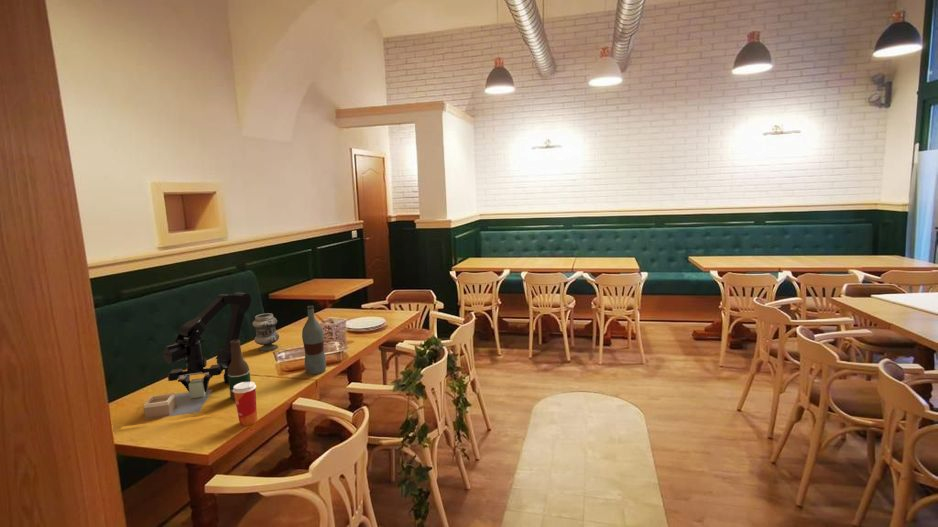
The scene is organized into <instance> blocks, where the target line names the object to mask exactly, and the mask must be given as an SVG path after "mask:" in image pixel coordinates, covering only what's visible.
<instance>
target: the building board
mask: <svg viewBox="0 0 938 527" xmlns="http://www.w3.org/2000/svg"><path fill="white" fill-rule="evenodd" d="M213 390H214V389H207V393H206V395H205V396H204V397H198V398H190V393H189V391H188V392H181V393H175V392H173V393H166V394H160V395H159V394H157V395H151V396H150V397H149V398H148V399H147V400H146V401H145V403H144V404H143V411H144V420H145V421H146V420H152V419H159V418H160V419H161V418H167V417H175V416H181V415H189V414H195V413H196V414H197V413H200V411H201V410H202V408H203V406H204V405H205V403H206V401H207V400H208V398H209V397H210V395H211V393H212V392H213Z"/></svg>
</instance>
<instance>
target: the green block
mask: <svg viewBox="0 0 938 527" xmlns="http://www.w3.org/2000/svg"><path fill="white" fill-rule="evenodd" d="M188 385H189V391H188V392H190V398H198V397H204V396H205V395H206V393H207V391H206V392H205V390H204V377H201V378H194V379H191V380H190V383H189V384H188Z"/></svg>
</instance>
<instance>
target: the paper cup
mask: <svg viewBox="0 0 938 527" xmlns="http://www.w3.org/2000/svg"><path fill="white" fill-rule="evenodd" d="M256 388H257V385H256V383H255V382H254V381H250V382H241V383H238V384H236V385H235V386H234V387H233V392H234V396H235V406H236V411H237V412H236V413H237V418H238V421H239V425H240V426H241V427H248V426H252V425H254V424H256V423H257V421H258V416H257V396H256V392H257V391H256Z"/></svg>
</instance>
